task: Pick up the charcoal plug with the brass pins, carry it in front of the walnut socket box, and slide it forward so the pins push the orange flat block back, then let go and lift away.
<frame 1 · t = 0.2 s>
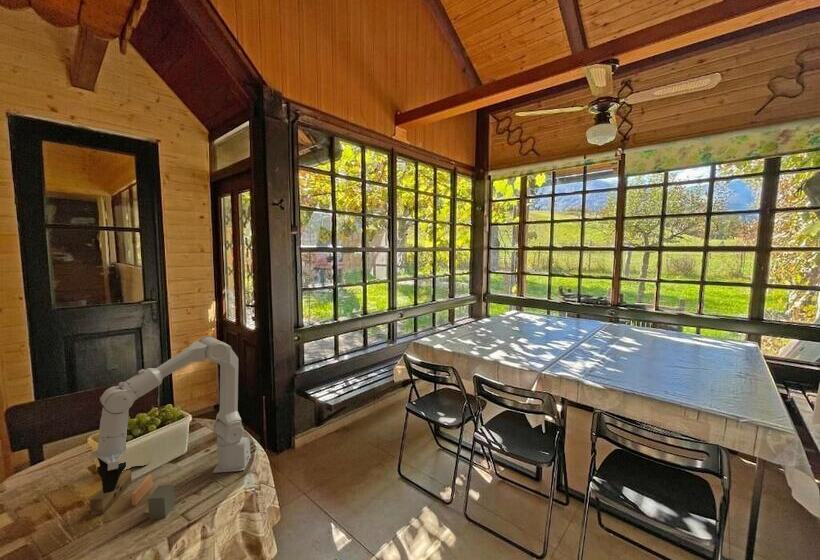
hand: (107, 484, 93), 10 cm above the table, tool pointing down, fingers open, 7 cm apart
orange flat block: (142, 489, 102), point 2 cm above the table, slide at 0.0 cm
socket housing: (112, 498, 101), on the table
plug: (162, 511, 97), on the table
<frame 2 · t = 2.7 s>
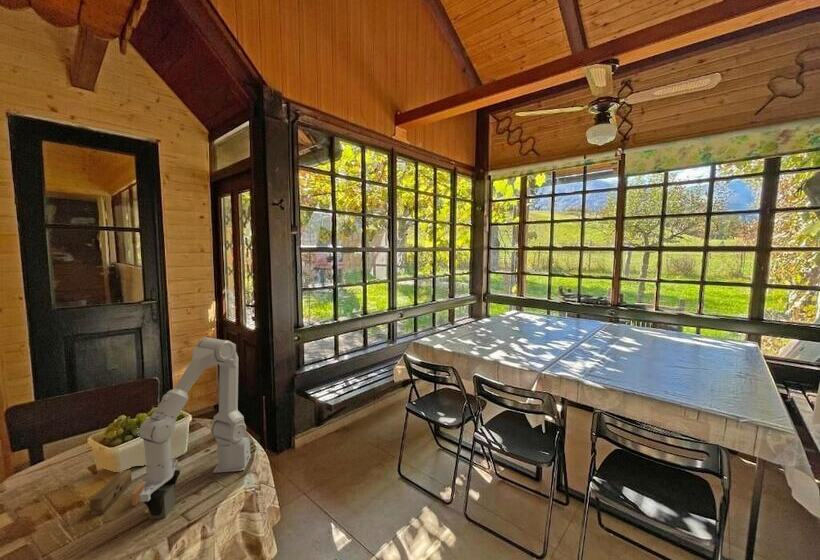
hand: (162, 506, 97), 1 cm above the table, tool pointing down, fingers closed on plug, 5 cm apart
plug: (162, 511, 97), on the table, touching gripper
everything else where it was.
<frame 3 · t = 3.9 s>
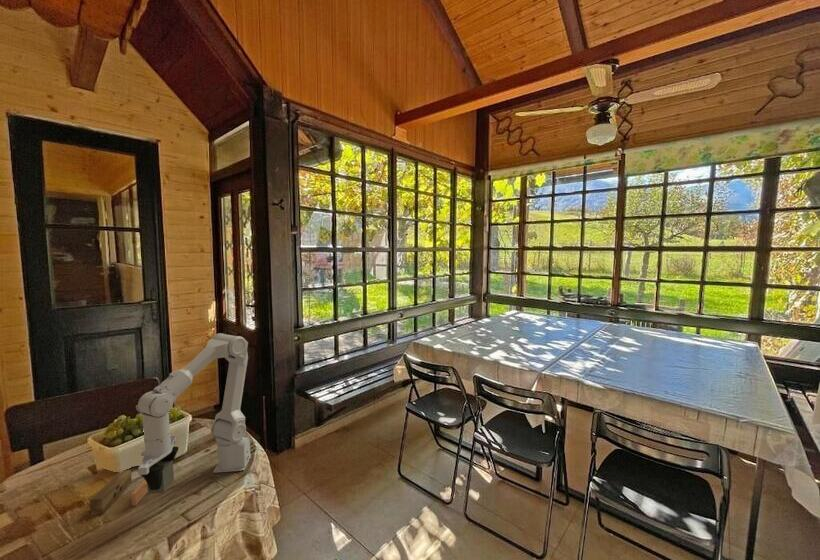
hand: (161, 481, 96), 8 cm above the table, tool pointing down, fingers closed on plug, 5 cm apart
plug: (161, 486, 97), point 7 cm above the table, touching gripper
everything else where it was.
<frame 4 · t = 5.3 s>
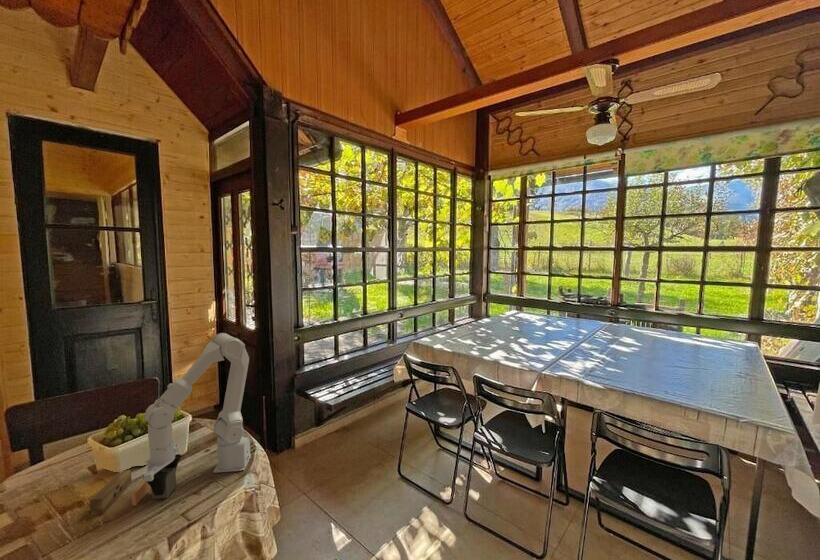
hand: (164, 487, 103), 2 cm above the table, tool pointing down, fingers closed on plug, 5 cm apart
plug: (164, 492, 103), point 1 cm above the table, touching gripper
everything else where it was.
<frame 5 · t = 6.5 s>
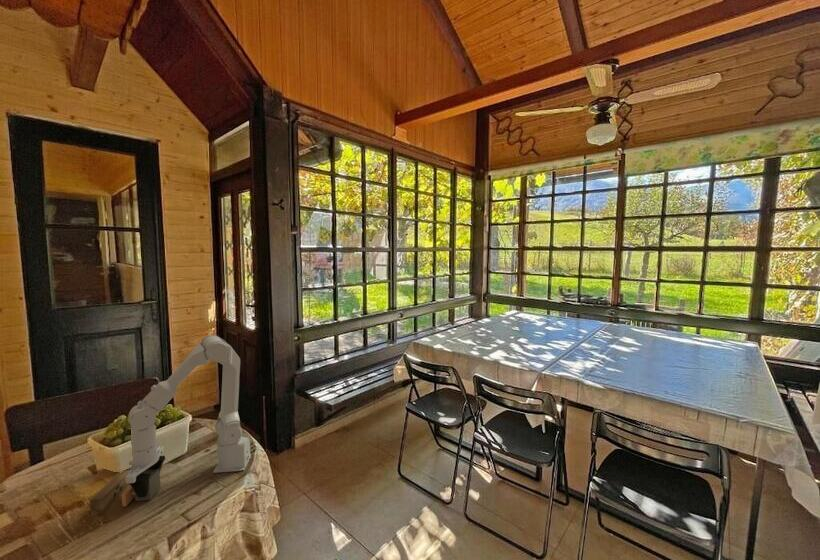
hand: (148, 489, 102), 2 cm above the table, tool pointing down, fingers closed on plug, 5 cm apart
orange flat block: (133, 490, 102), point 2 cm above the table, slide at 2.5 cm, touching plug
plug: (148, 494, 103), on the table, touching gripper, orange flat block
everything else where it was.
when the fingers open (2 cm above the table, at t = 7.8 s): plug stays where it is, on the table.
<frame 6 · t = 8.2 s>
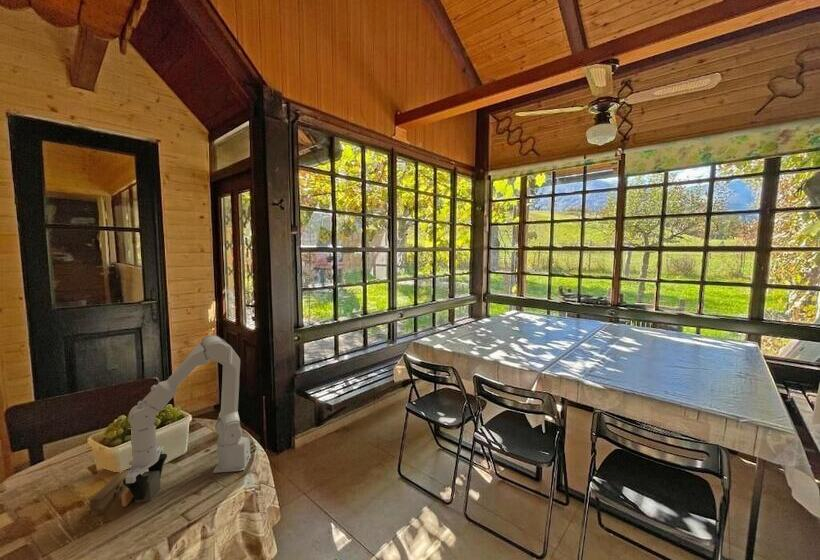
hand: (148, 489, 102), 2 cm above the table, tool pointing down, fingers open, 7 cm apart
orange flat block: (132, 490, 102), point 2 cm above the table, slide at 2.5 cm
plug: (148, 495, 103), on the table
everything else where it was.
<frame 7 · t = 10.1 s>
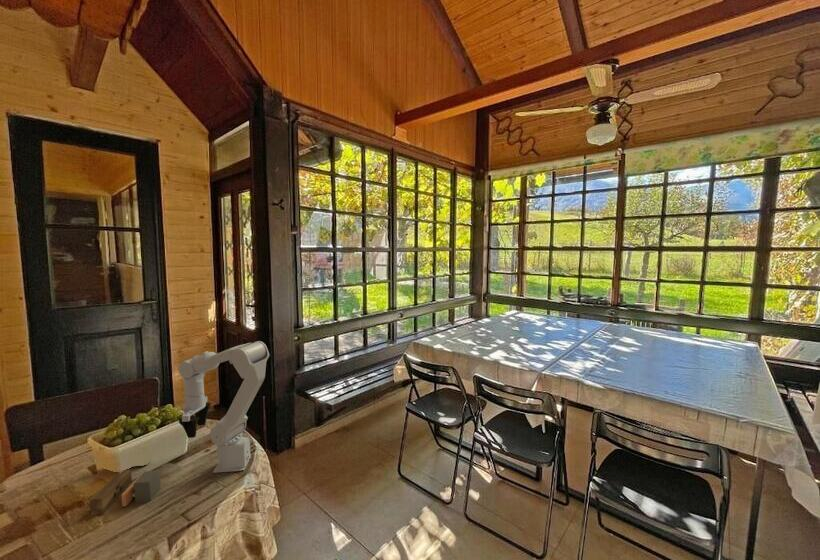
hand: (196, 430, 120), 9 cm above the table, tool pointing down, fingers open, 7 cm apart
nothing on the table moved.
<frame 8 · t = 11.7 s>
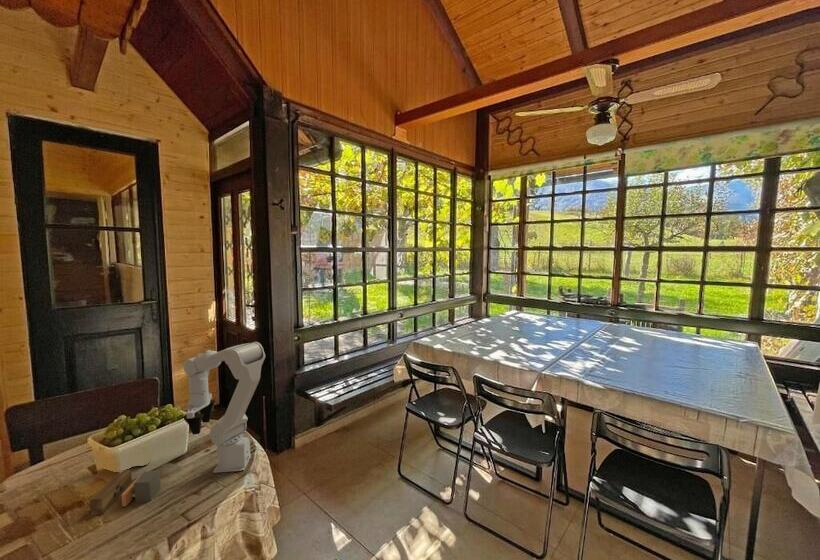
hand: (201, 427, 122), 9 cm above the table, tool pointing down, fingers open, 7 cm apart
nothing on the table moved.
at the end: orange flat block slide at 2.5 cm; plug 0.2 cm from the target spot, on the table; plug tilted 0° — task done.
